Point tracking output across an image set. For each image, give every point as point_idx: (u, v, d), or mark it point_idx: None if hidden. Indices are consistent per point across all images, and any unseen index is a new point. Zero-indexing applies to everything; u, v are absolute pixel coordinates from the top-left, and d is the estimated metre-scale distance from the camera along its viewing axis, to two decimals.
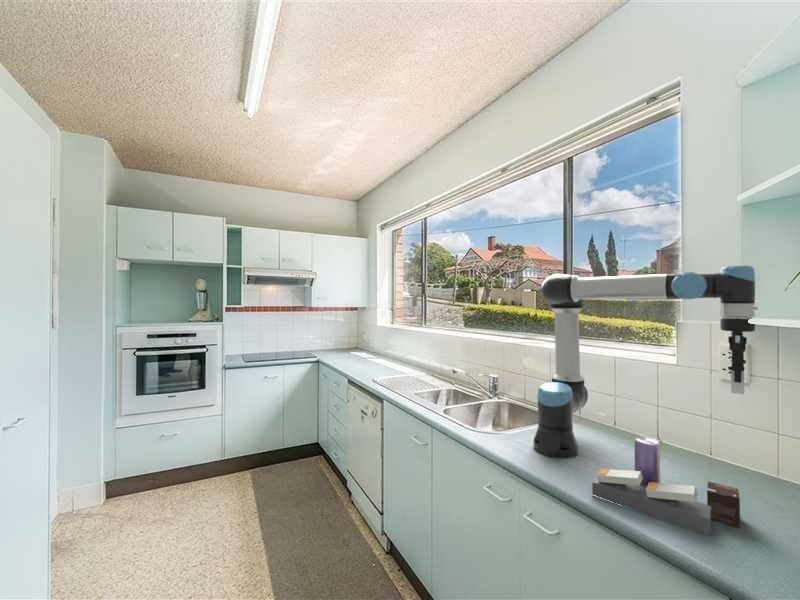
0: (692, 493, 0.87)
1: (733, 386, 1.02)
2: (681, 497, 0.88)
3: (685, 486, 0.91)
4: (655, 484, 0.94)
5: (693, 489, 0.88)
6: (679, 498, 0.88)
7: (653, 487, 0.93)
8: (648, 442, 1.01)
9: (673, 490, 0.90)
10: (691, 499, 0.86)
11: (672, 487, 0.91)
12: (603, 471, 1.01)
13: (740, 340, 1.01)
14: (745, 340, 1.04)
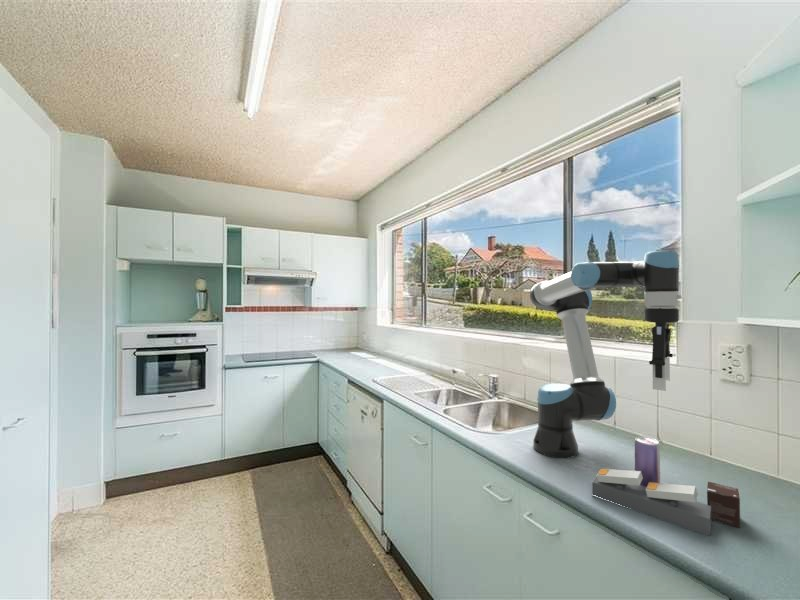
0: (692, 493, 0.87)
1: (655, 382, 0.93)
2: (681, 497, 0.88)
3: (685, 486, 0.91)
4: (655, 484, 0.94)
5: (693, 489, 0.88)
6: (679, 498, 0.88)
7: (653, 487, 0.93)
8: (648, 442, 1.01)
9: (673, 490, 0.90)
10: (691, 499, 0.86)
11: (672, 487, 0.91)
12: (603, 471, 1.01)
13: (661, 331, 0.92)
14: (668, 332, 0.95)
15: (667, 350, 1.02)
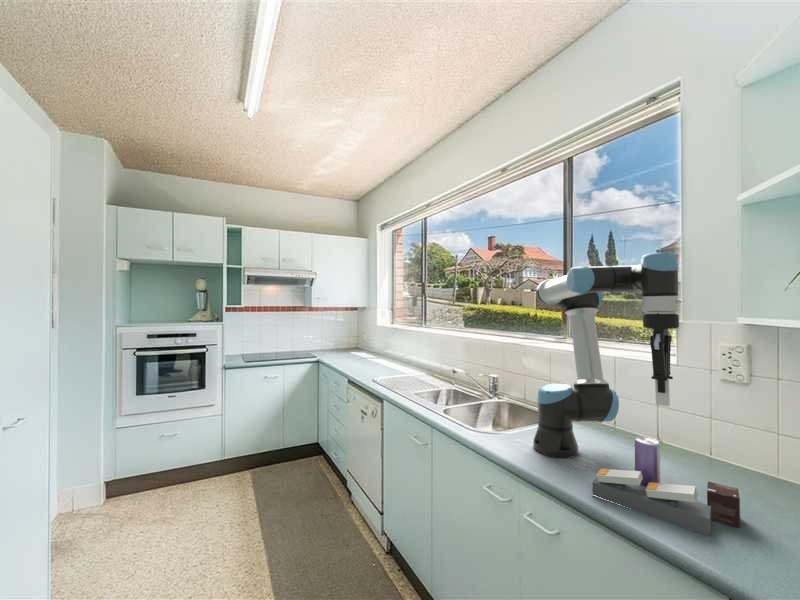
0: (692, 493, 0.87)
1: (658, 397, 0.92)
2: (681, 497, 0.88)
3: (685, 486, 0.91)
4: (655, 484, 0.94)
5: (693, 489, 0.88)
6: (679, 498, 0.88)
7: (653, 487, 0.93)
8: (648, 442, 1.01)
9: (673, 490, 0.90)
10: (691, 499, 0.86)
11: (672, 487, 0.91)
12: (603, 471, 1.01)
13: (659, 347, 0.88)
14: (667, 341, 0.90)
15: (666, 366, 0.92)
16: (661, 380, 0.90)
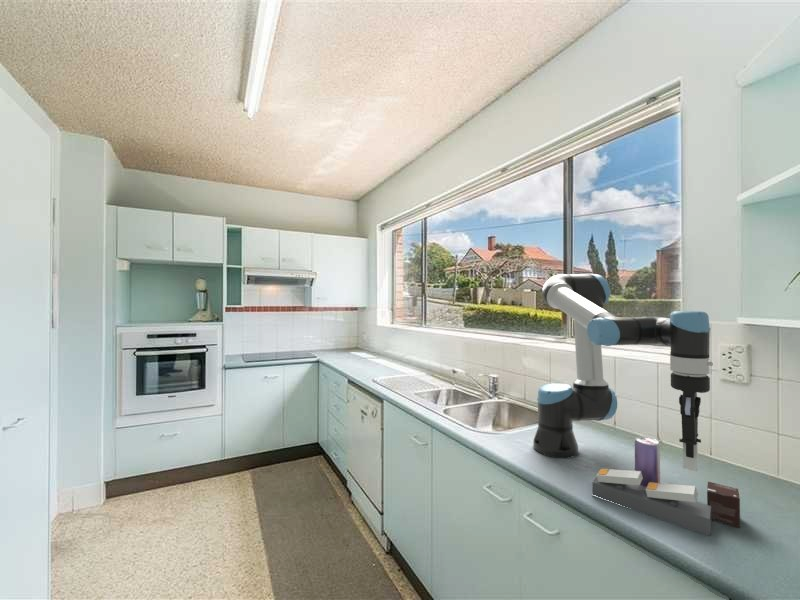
0: (692, 493, 0.87)
1: (685, 461, 0.88)
2: (681, 497, 0.88)
3: (685, 486, 0.91)
4: (655, 484, 0.94)
5: (693, 489, 0.88)
6: (679, 498, 0.88)
7: (653, 487, 0.93)
8: (648, 442, 1.01)
9: (673, 490, 0.90)
10: (691, 499, 0.86)
11: (672, 487, 0.91)
12: (603, 471, 1.01)
13: (690, 413, 0.84)
14: (698, 404, 0.86)
15: (695, 429, 0.88)
16: (690, 445, 0.87)
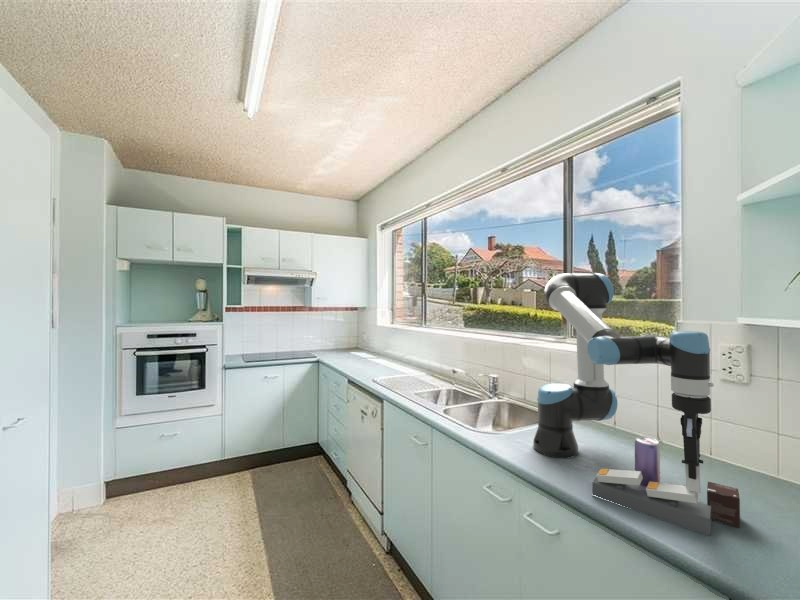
0: (693, 494, 0.87)
1: (688, 482, 0.88)
2: (682, 498, 0.88)
3: None
4: (656, 484, 0.94)
5: None
6: (680, 498, 0.88)
7: (654, 486, 0.93)
8: (648, 442, 1.01)
9: (674, 491, 0.89)
10: (692, 500, 0.86)
11: (672, 487, 0.91)
12: (603, 471, 1.01)
13: (692, 435, 0.83)
14: (699, 426, 0.86)
15: (697, 450, 0.88)
16: (692, 466, 0.86)
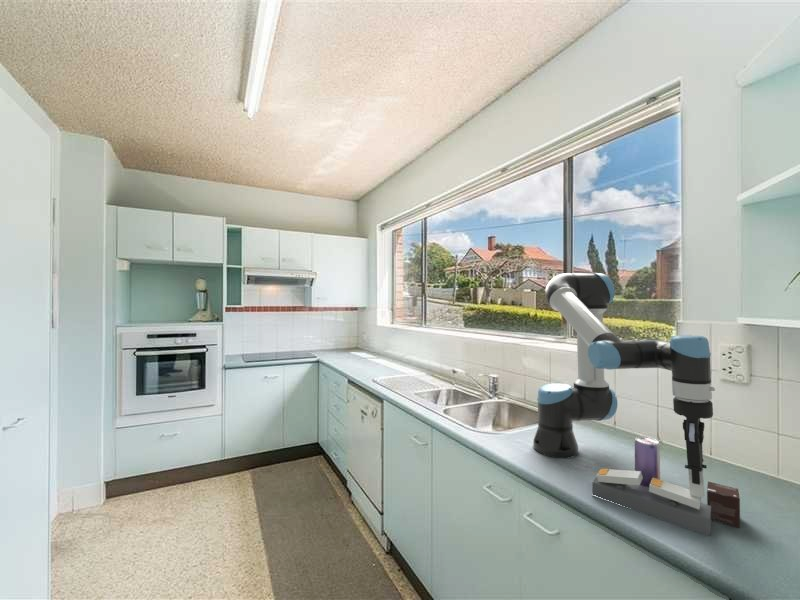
0: (698, 500, 0.86)
1: (692, 487, 0.88)
2: (685, 501, 0.87)
3: None
4: (660, 481, 0.93)
5: None
6: (682, 501, 0.88)
7: (658, 484, 0.92)
8: (648, 442, 1.01)
9: (679, 493, 0.89)
10: (695, 505, 0.86)
11: (677, 488, 0.91)
12: (603, 471, 1.01)
13: (694, 440, 0.83)
14: (702, 430, 0.85)
15: (700, 455, 0.88)
16: (696, 471, 0.86)
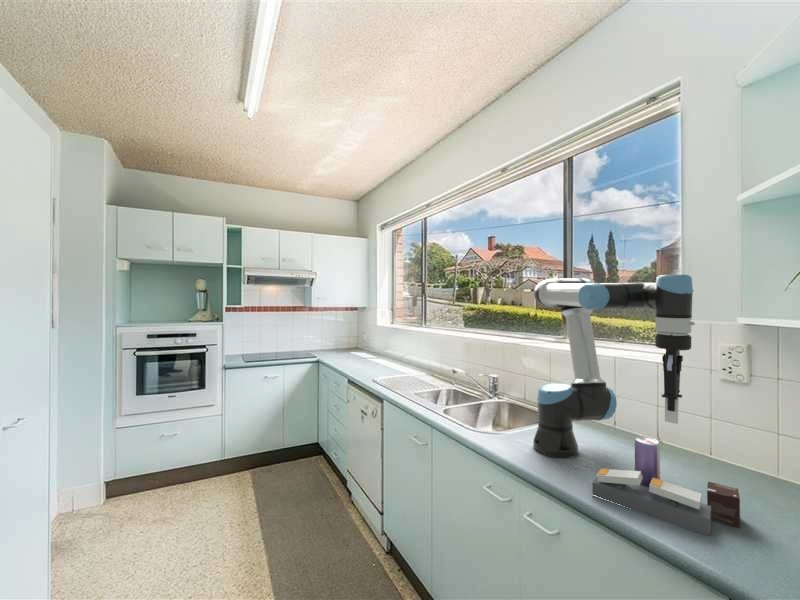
0: (698, 501, 0.86)
1: (667, 414, 0.95)
2: (685, 501, 0.87)
3: (691, 491, 0.90)
4: (660, 481, 0.93)
5: (699, 496, 0.88)
6: (682, 501, 0.88)
7: (658, 484, 0.92)
8: (648, 442, 1.01)
9: (679, 493, 0.89)
10: (695, 505, 0.86)
11: (677, 488, 0.91)
12: (603, 471, 1.01)
13: (672, 369, 0.90)
14: (679, 361, 0.92)
15: None
16: (671, 399, 0.93)
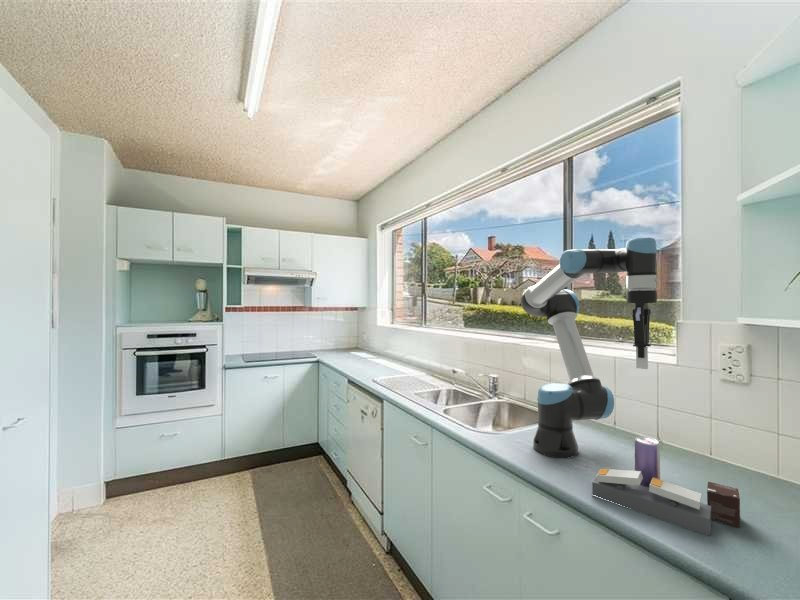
0: (698, 501, 0.86)
1: (638, 362, 1.08)
2: (685, 501, 0.87)
3: (691, 491, 0.90)
4: (660, 481, 0.93)
5: (699, 496, 0.88)
6: (682, 501, 0.88)
7: (658, 484, 0.92)
8: (648, 442, 1.01)
9: (679, 493, 0.89)
10: (695, 505, 0.86)
11: (677, 488, 0.91)
12: (603, 471, 1.01)
13: (640, 318, 1.03)
14: (647, 313, 1.05)
15: (646, 336, 1.07)
16: (641, 347, 1.06)
